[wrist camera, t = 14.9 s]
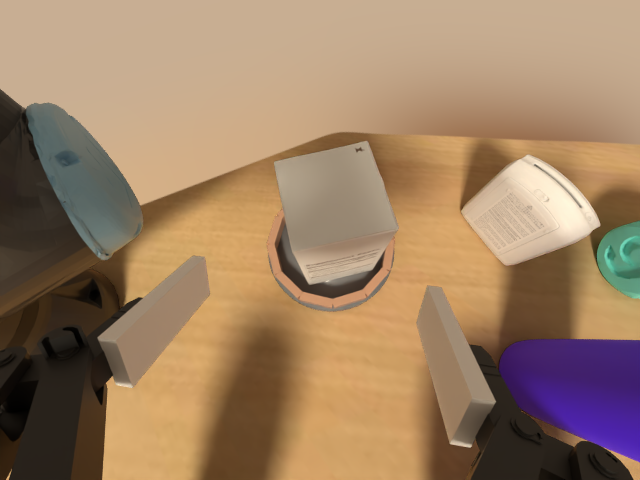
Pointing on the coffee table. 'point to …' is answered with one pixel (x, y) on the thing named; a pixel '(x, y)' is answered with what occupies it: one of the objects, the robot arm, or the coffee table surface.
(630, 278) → the mint green rounded piece
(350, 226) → the supplement box
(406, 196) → the coffee table surface
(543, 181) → the photo printer
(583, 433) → the bottle
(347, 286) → the ringed saucer
